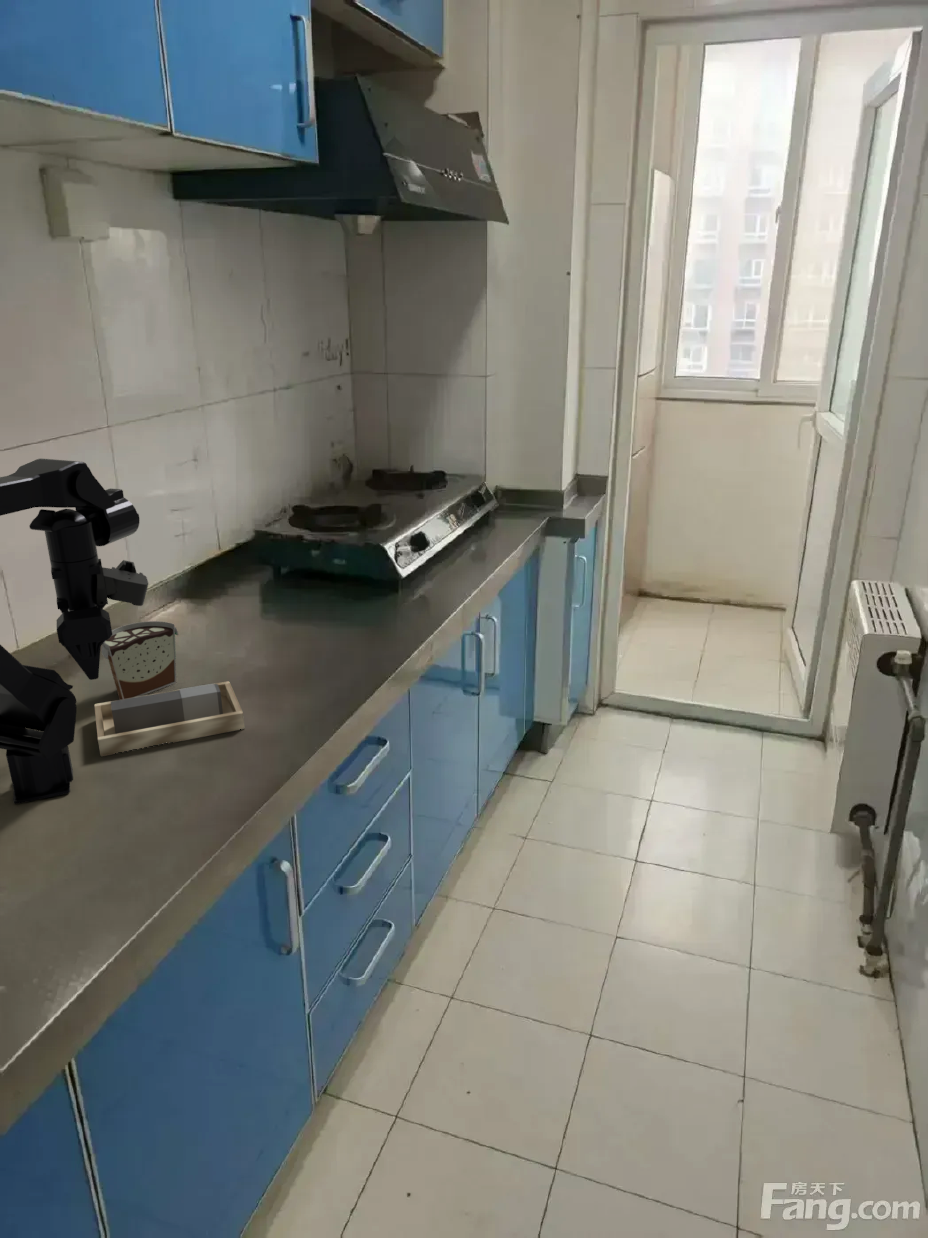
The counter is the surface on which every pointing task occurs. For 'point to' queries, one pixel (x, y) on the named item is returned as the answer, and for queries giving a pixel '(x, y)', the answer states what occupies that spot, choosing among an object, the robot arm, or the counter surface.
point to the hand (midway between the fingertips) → (92, 665)
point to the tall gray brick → (166, 708)
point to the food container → (142, 657)
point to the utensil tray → (168, 726)
